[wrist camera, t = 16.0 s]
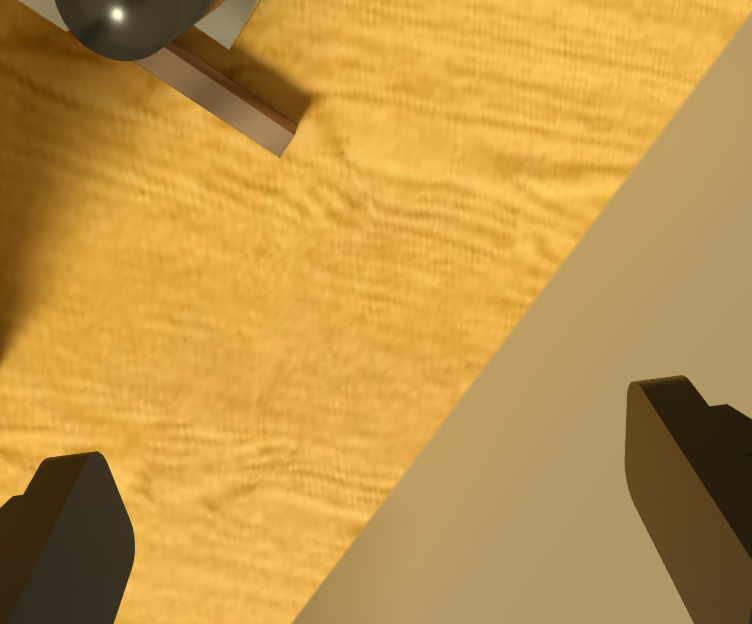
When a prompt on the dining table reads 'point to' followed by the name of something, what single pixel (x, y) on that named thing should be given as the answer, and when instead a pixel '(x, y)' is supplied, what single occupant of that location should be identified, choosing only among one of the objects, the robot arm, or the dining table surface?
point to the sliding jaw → (143, 22)
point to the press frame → (221, 97)
